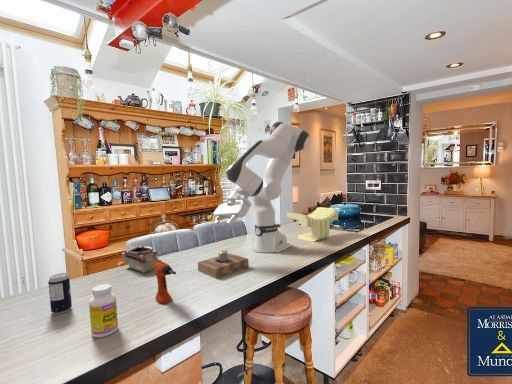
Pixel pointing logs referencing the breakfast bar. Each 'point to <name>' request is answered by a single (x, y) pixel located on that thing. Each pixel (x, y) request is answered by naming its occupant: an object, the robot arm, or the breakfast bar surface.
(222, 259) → the key peg
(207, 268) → the chuck block
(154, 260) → the decorative box
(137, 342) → the breakfast bar surface
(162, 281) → the toy drill
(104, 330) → the supplement bottle
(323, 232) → the slatted curved stool
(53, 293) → the beverage can
